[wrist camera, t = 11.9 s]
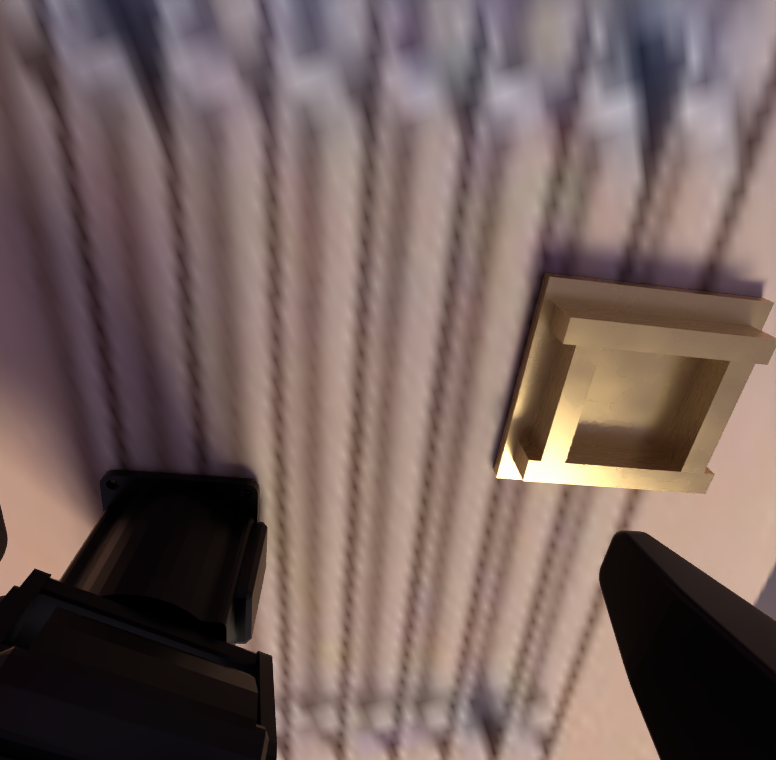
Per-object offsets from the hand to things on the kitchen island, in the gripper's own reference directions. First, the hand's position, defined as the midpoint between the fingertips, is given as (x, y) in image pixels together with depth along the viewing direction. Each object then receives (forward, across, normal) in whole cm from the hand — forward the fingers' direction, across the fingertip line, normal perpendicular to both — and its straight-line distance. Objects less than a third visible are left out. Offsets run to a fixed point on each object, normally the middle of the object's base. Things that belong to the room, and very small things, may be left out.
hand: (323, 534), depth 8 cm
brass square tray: (+13, -12, +3) cm, 18 cm away
